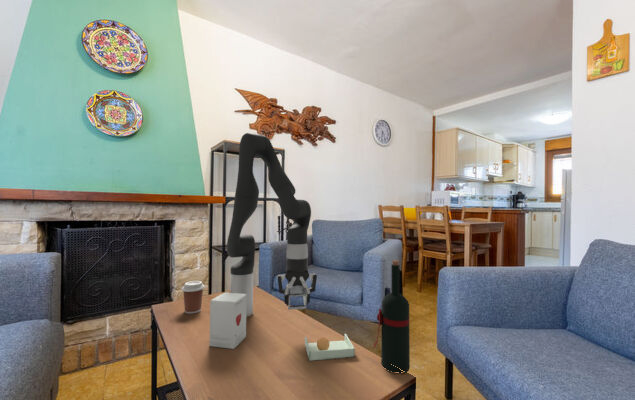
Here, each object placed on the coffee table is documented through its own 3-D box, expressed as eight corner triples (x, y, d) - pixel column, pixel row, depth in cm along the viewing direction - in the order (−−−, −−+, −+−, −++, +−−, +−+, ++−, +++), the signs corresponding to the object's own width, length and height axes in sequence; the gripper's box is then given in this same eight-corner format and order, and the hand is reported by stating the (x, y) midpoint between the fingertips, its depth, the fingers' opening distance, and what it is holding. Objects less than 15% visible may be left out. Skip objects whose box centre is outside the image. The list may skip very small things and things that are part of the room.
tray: (304, 344, 93) (304, 336, 93) (345, 341, 95) (345, 333, 95) (309, 360, 83) (309, 352, 83) (354, 356, 85) (354, 348, 85)
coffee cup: (199, 305, 128) (200, 278, 128) (207, 311, 121) (208, 283, 122) (178, 310, 122) (178, 282, 122) (185, 316, 115) (185, 287, 116)
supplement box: (234, 349, 89) (234, 302, 89) (208, 346, 91) (209, 300, 91) (246, 336, 98) (247, 293, 98) (223, 334, 100) (224, 291, 100)
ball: (323, 345, 91) (318, 334, 91) (333, 345, 89) (328, 334, 89) (317, 354, 88) (312, 343, 88) (327, 354, 86) (322, 342, 85)
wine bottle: (373, 356, 86) (373, 257, 86) (408, 360, 84) (408, 258, 84) (373, 370, 78) (373, 262, 79) (411, 375, 76) (411, 264, 77)
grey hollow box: (287, 295, 103) (288, 281, 100) (304, 295, 104) (305, 280, 101) (288, 309, 98) (288, 295, 94) (306, 308, 99) (307, 294, 95)
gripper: (315, 254, 104) (315, 299, 103) (276, 255, 101) (276, 302, 101) (319, 257, 96) (319, 307, 96) (276, 258, 94) (276, 309, 94)
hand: (297, 304), depth 98 cm, fingers closed on grey hollow box, 6 cm apart
